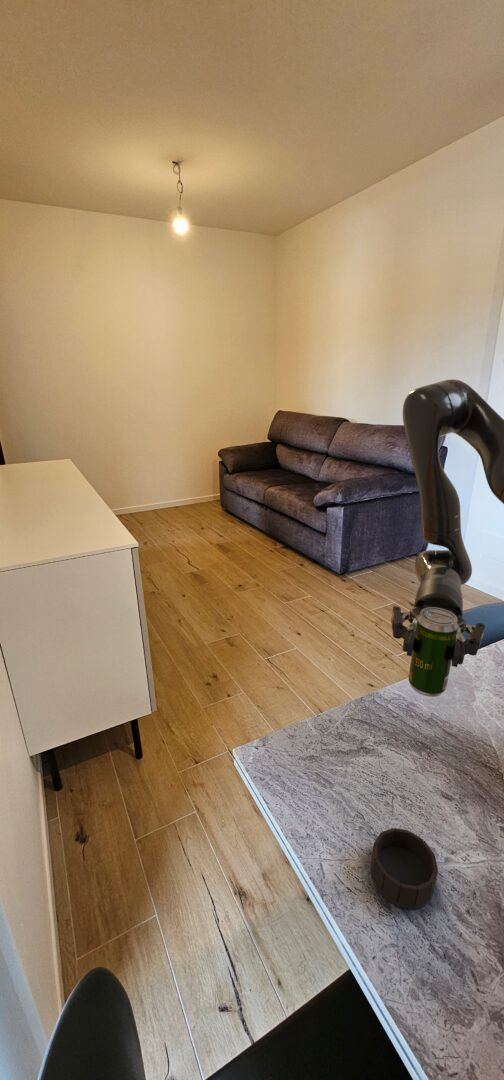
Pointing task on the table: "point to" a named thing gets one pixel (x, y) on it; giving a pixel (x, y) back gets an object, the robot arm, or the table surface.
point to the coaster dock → (403, 868)
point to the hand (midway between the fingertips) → (432, 655)
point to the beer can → (432, 651)
